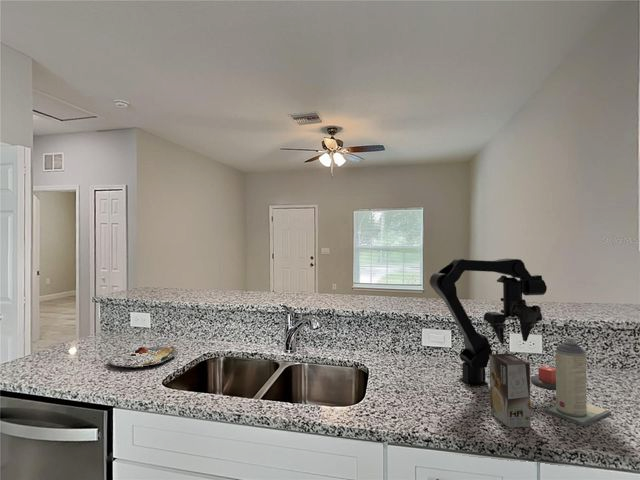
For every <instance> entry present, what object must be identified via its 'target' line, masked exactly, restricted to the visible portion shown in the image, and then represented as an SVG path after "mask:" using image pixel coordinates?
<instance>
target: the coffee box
mask: <svg viewBox="0 0 640 480" xmlns="http://www.w3.org/2000/svg"><path fill="white" fill-rule="evenodd" d="M488 362H489V397H490V398H489V399H490V400H489V401H490V403H489V404H490V405H489V407H490V408H489V409H490V411H489V412H490V414H492V415H493V417H495V418H496V419H497V420H499V421H500V422H501V423H502V424H503V425H505V426H506V427H507V428H510V429H511V428H530V427H532V423H531V422H532V416H531V415H532V414H531V413H532V412H531V410H532V408H531V407H532V406H531V405H532V403H531V363H530V362H527V361H526V360H524V359H522V358H520V357H518V356H516V355H513V354H511V353H492V354H490V355H489V361H488Z"/></svg>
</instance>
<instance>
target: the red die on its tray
mask: <svg viewBox="0 0 640 480" xmlns="http://www.w3.org/2000/svg"><path fill="white" fill-rule="evenodd" d="M530 383H531V384H533V385H535V386H537V387H540V388H542V389H547V390H555V391H556V367H552V366H547V365H542V366H540V367H538V375H533V376H530Z"/></svg>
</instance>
